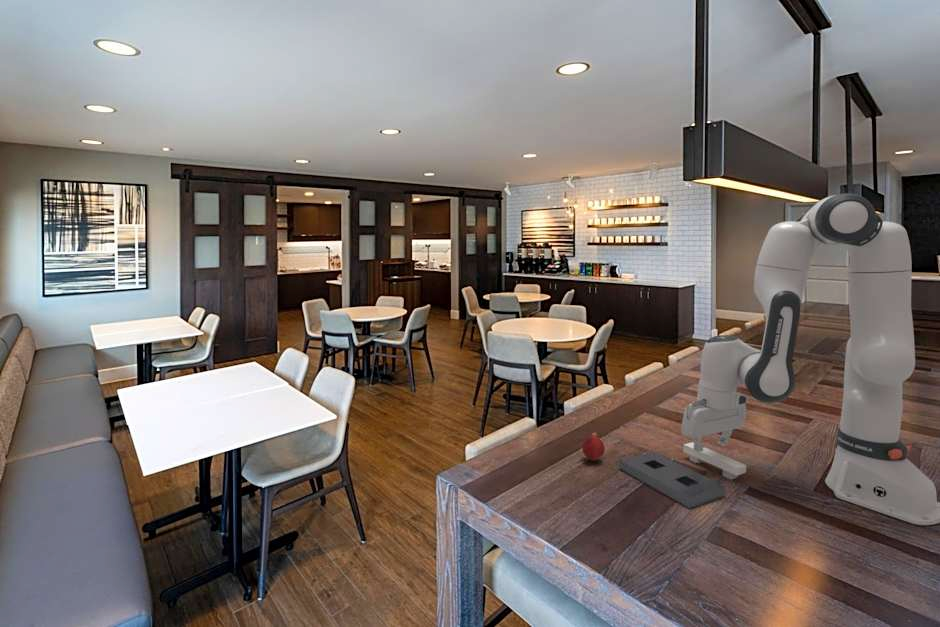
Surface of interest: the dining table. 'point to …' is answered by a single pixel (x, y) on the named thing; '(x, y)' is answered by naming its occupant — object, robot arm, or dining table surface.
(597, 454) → the onion
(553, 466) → the dining table surface
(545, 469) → the dining table surface
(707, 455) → the strip
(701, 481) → the plate
